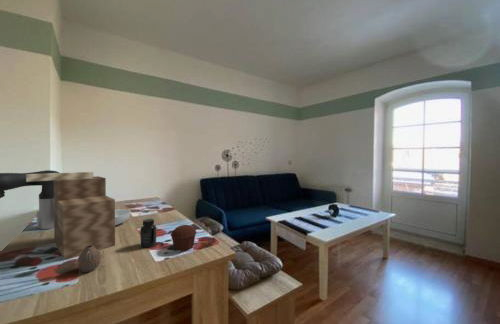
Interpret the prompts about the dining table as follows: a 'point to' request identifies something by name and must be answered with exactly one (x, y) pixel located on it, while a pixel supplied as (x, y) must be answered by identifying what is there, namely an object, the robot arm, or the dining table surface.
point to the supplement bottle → (148, 233)
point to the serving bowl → (121, 215)
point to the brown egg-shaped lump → (89, 259)
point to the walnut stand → (82, 216)
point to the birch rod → (58, 176)
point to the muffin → (183, 237)
